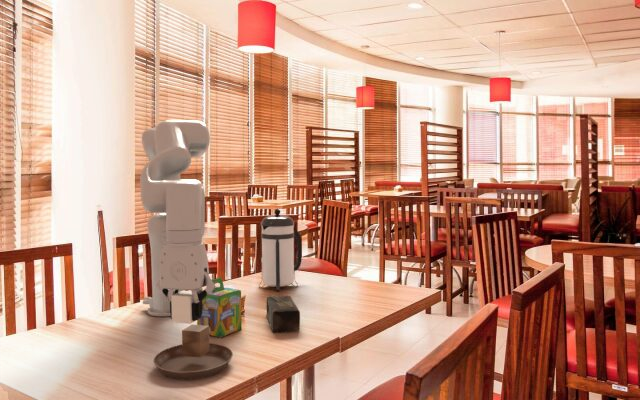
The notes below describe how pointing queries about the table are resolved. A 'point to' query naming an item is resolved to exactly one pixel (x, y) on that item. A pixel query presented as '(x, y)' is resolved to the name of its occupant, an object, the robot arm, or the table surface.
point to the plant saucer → (192, 362)
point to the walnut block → (195, 340)
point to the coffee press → (279, 251)
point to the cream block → (182, 307)
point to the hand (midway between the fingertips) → (186, 317)
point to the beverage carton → (283, 314)
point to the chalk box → (221, 310)
